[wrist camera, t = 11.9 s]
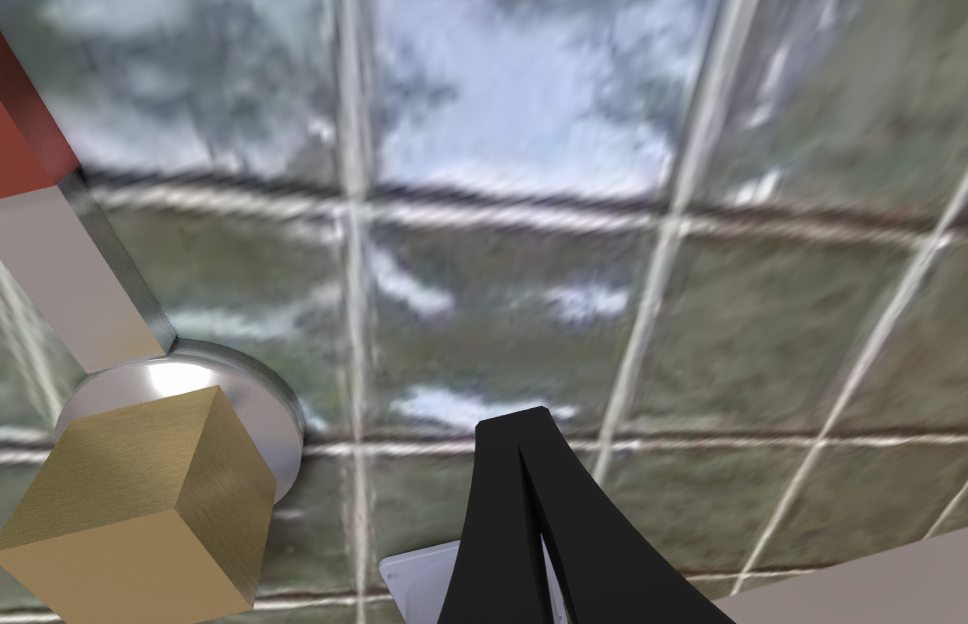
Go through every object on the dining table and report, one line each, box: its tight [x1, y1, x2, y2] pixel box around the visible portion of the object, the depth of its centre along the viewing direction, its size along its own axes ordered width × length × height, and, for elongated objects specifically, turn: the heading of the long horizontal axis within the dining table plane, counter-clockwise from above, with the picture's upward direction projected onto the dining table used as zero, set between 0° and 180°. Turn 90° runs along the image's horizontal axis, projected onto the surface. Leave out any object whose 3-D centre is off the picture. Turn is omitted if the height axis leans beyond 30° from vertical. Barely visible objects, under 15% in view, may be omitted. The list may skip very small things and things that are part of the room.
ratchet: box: [0, 32, 305, 505], centre depth 17 cm, size 22×8×4 cm, turn 11°
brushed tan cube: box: [0, 385, 278, 624], centre depth 19 cm, size 5×5×5 cm
